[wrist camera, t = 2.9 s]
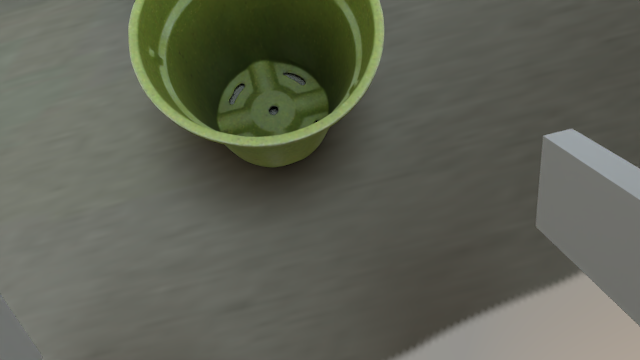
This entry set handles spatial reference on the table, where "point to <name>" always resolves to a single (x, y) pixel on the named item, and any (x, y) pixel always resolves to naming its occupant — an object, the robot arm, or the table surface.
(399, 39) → the table surface
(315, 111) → the plant pot
